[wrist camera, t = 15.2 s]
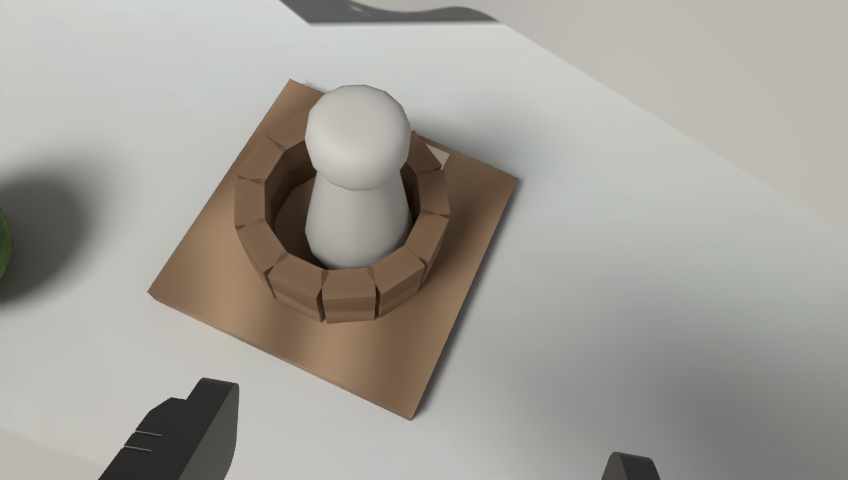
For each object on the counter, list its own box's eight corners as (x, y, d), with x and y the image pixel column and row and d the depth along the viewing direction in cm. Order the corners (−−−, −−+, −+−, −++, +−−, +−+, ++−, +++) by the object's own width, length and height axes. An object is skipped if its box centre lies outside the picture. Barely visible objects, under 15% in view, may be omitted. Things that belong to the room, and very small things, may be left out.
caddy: (512, 189, 40) (536, 140, 35) (410, 420, 34) (420, 405, 29) (292, 92, 42) (281, 30, 36) (155, 299, 35) (117, 263, 30)
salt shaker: (317, 193, 37) (297, 48, 25) (412, 204, 38) (437, 67, 26) (301, 285, 35) (271, 174, 23) (402, 296, 35) (424, 193, 23)
